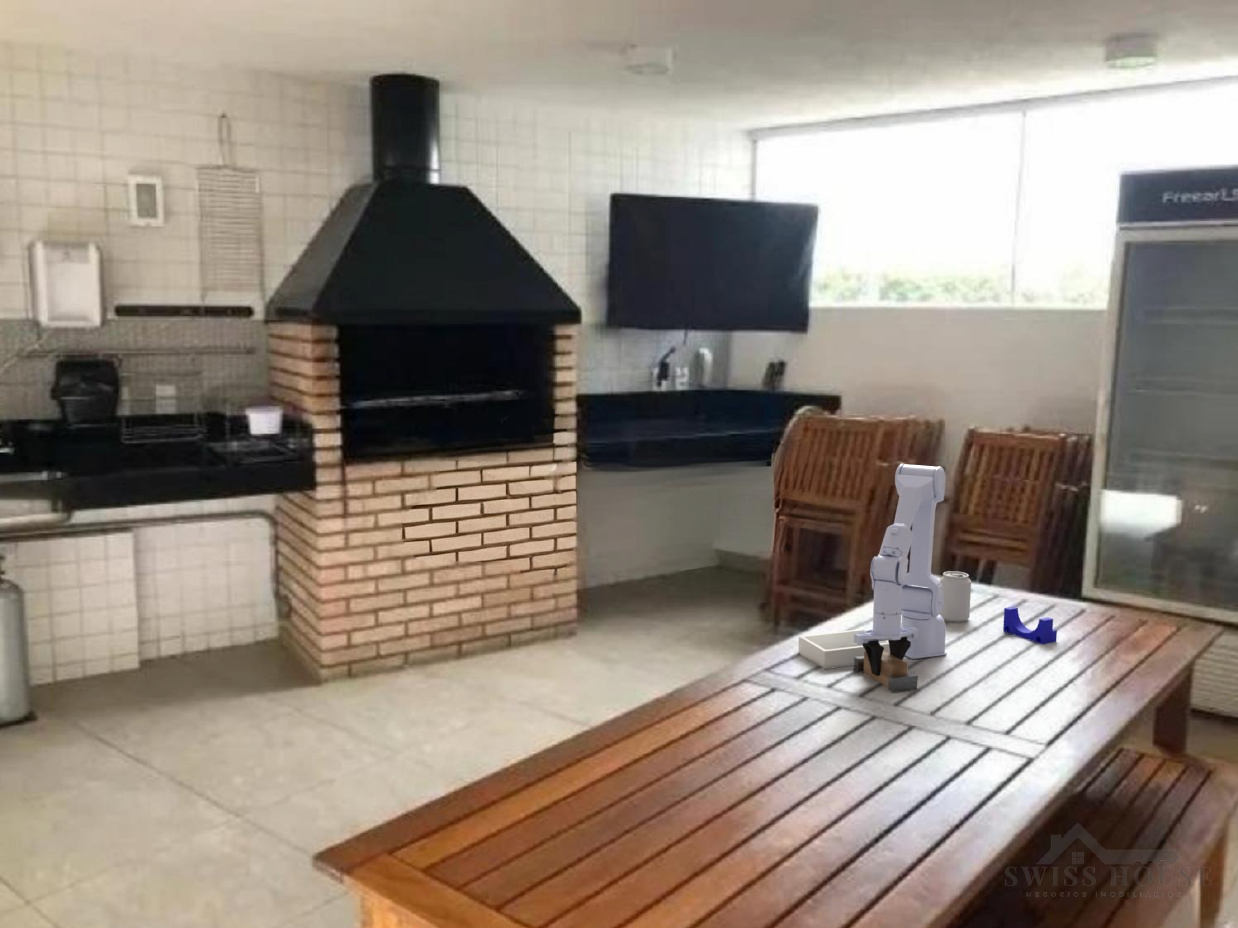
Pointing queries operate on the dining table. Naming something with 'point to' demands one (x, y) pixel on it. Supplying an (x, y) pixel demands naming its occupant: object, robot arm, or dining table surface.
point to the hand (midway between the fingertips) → (885, 673)
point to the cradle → (892, 678)
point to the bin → (833, 648)
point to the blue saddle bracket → (1016, 627)
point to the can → (956, 596)
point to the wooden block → (886, 667)
